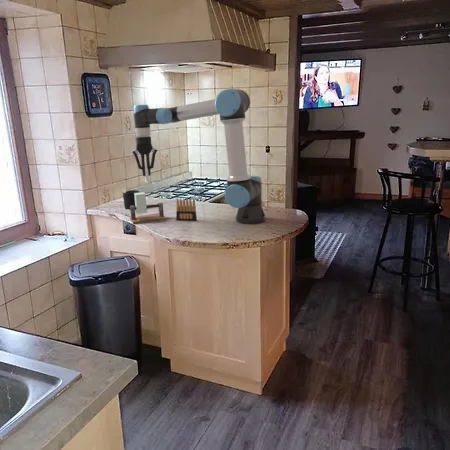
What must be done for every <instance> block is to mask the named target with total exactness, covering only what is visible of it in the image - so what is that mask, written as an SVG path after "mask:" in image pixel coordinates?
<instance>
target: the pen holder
mask: <svg viewBox="0 0 450 450" xmlns="http://www.w3.org/2000/svg"><path fill="white" fill-rule="evenodd" d="M134 193H140V190H138V189H137V190H135V189H133V190H127V191H125V192H122V198H123V204H124V205H123V206H124V209H125V210H126V209H129V211H130V206H133V205H134V206H135V196H134Z"/></svg>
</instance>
